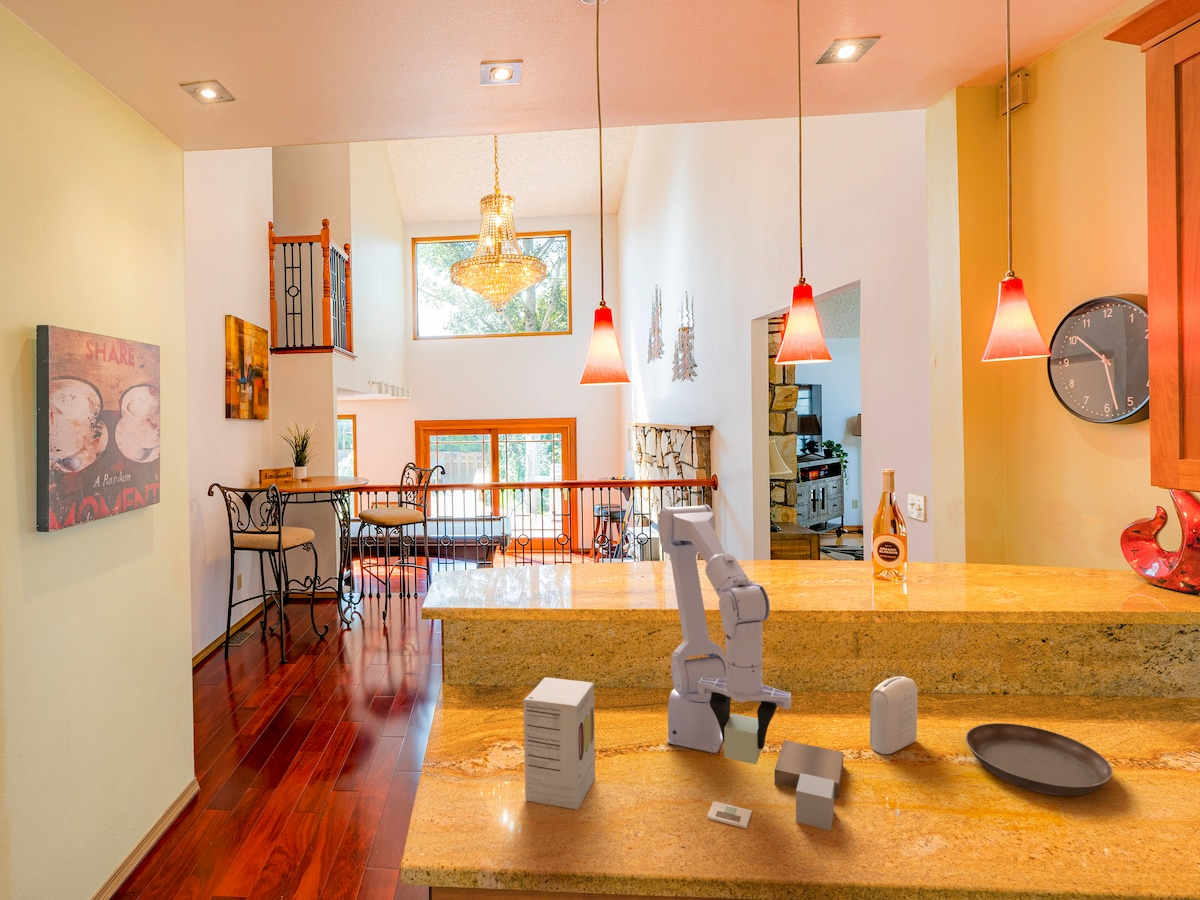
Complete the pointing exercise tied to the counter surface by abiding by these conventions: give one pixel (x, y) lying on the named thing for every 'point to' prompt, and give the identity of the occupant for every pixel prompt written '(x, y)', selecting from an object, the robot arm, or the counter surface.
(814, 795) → the grey cube
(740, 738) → the sage cube
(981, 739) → the plant saucer
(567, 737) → the supplement box
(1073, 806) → the counter surface
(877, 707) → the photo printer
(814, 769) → the walnut slab
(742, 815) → the card
